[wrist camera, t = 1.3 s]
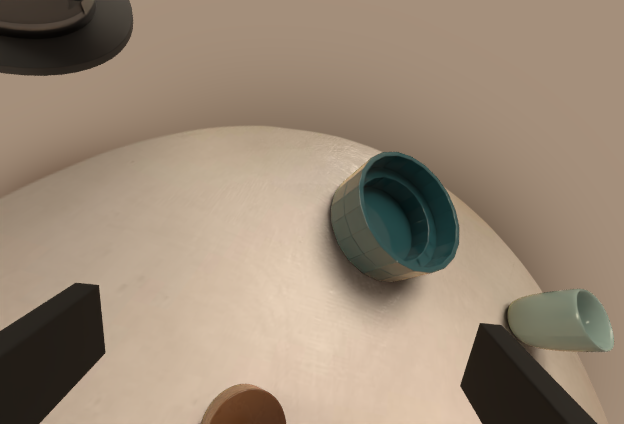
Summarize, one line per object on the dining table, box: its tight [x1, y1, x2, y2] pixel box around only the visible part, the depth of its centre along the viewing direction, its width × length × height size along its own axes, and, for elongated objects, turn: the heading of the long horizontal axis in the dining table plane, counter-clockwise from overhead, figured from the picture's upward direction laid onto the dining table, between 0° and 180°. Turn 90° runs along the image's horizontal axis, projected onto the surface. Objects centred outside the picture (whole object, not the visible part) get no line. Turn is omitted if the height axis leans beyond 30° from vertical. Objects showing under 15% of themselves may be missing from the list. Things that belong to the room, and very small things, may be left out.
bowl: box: [331, 152, 459, 282], centre depth 37 cm, size 15×15×7 cm
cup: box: [507, 289, 614, 352], centre depth 41 cm, size 8×8×10 cm
